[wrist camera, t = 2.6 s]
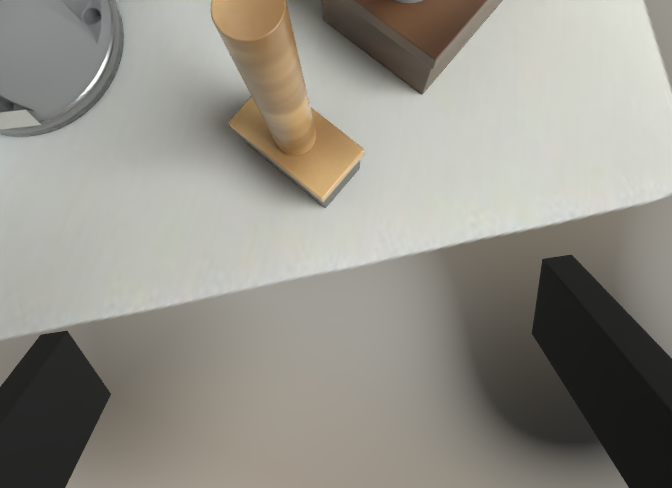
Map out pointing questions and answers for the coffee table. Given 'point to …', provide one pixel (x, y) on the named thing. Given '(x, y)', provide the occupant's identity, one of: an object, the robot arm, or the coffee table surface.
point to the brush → (282, 100)
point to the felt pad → (408, 1)
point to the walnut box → (409, 32)
